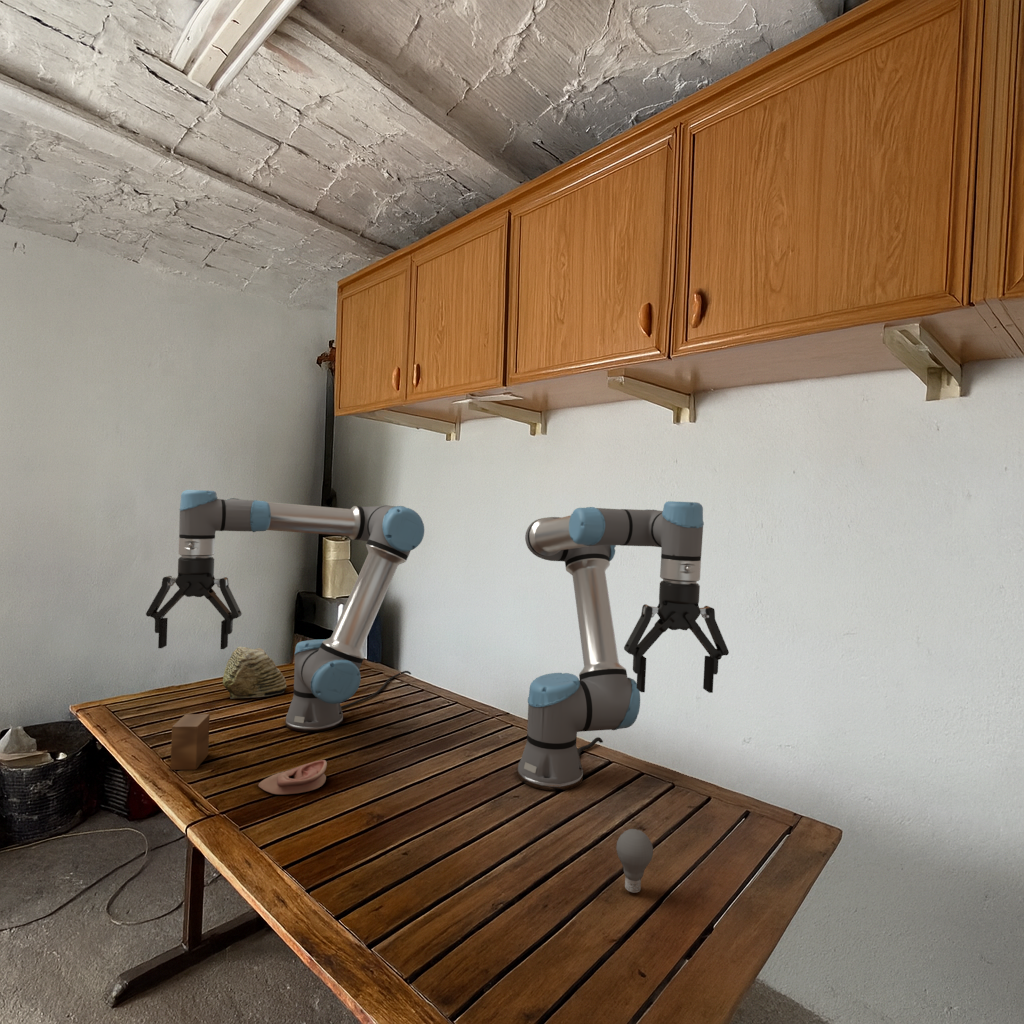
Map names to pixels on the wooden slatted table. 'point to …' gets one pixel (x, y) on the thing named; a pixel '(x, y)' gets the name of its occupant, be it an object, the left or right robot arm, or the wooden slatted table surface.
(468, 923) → the wooden slatted table surface
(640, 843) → the light bulb
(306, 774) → the anatomical model
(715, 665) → the right robot arm
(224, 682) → the fossil
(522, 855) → the wooden slatted table surface
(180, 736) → the brick
